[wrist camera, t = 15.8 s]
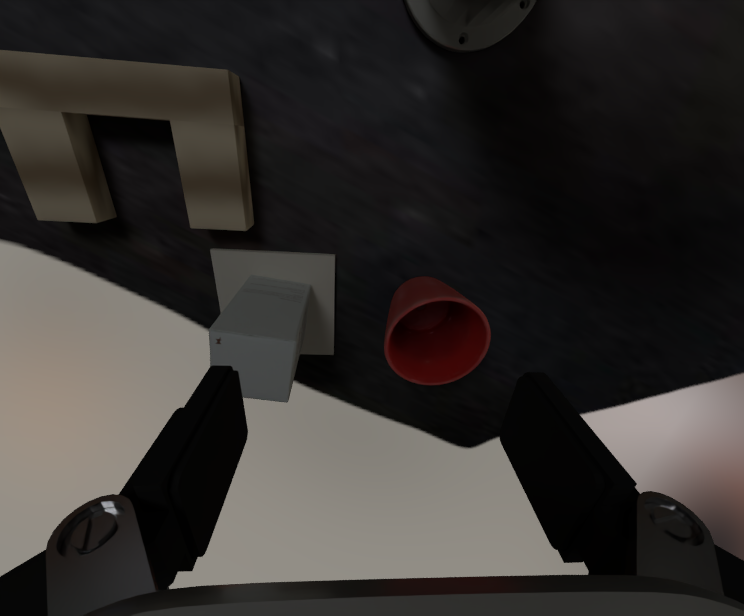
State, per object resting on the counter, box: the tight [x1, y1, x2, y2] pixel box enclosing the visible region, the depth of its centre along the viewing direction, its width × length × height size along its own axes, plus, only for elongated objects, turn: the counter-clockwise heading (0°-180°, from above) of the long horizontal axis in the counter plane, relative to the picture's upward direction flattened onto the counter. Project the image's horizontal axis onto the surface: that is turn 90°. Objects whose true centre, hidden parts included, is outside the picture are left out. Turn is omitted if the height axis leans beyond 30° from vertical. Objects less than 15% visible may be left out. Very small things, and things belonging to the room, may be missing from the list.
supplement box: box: [209, 275, 311, 402], centre depth 34 cm, size 7×7×13 cm
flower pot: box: [384, 276, 491, 385], centre depth 37 cm, size 11×11×10 cm
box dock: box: [0, 50, 254, 231], centre depth 30 cm, size 14×20×3 cm
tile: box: [210, 248, 335, 355], centre depth 40 cm, size 14×14×1 cm
